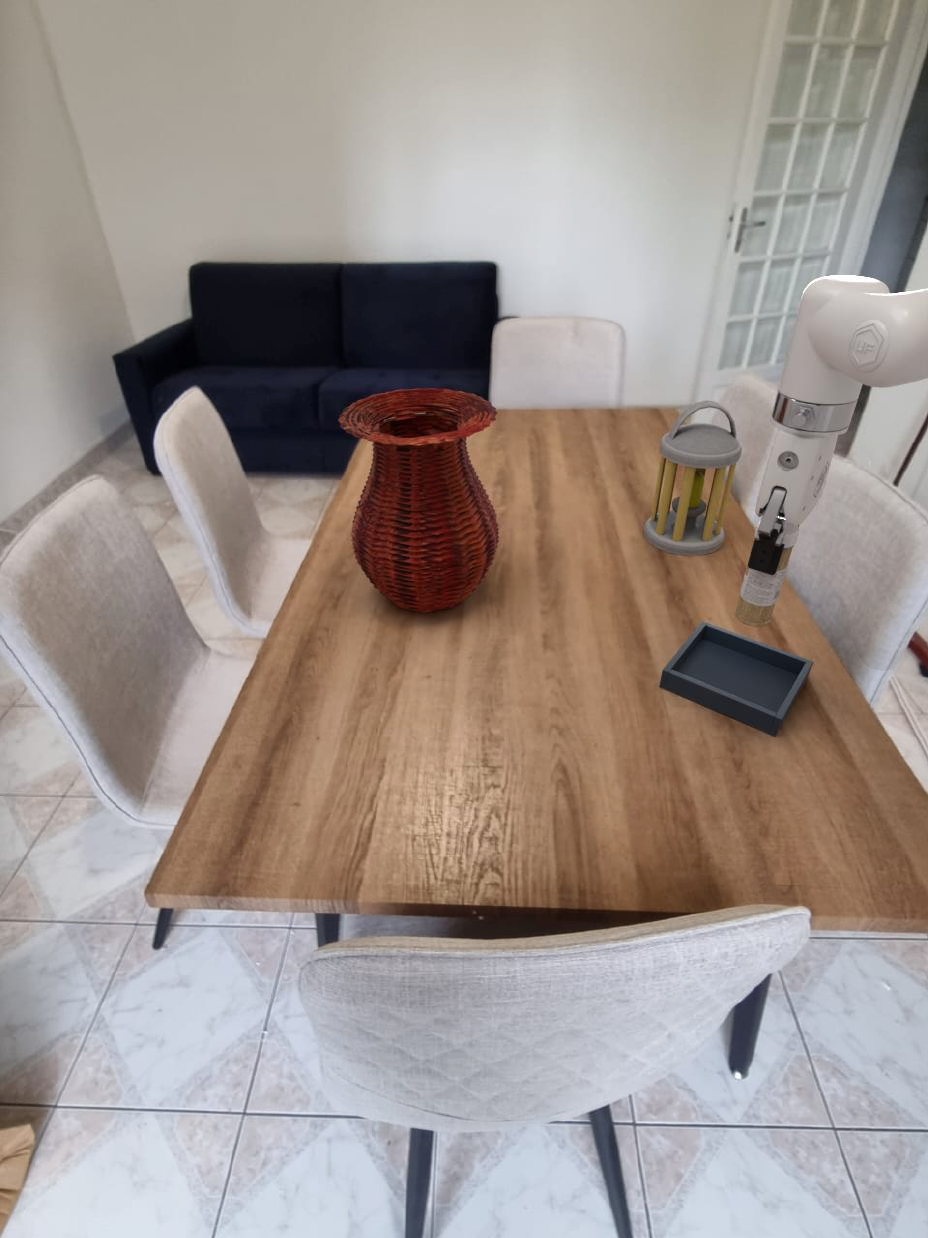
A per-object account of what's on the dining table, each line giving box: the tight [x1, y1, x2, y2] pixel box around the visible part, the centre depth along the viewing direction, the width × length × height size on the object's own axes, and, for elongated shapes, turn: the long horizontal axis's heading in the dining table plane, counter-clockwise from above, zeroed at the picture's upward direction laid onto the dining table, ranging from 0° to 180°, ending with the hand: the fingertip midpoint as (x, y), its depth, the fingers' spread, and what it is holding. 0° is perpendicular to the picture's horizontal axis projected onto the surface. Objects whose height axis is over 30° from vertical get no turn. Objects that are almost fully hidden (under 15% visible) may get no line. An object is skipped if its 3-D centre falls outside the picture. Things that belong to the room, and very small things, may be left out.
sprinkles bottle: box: [733, 519, 800, 628], centre depth 82 cm, size 5×5×14 cm
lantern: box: [643, 399, 743, 557], centre depth 117 cm, size 14×14×25 cm
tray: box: [659, 620, 814, 737], centre depth 92 cm, size 16×14×3 cm
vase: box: [337, 387, 500, 613], centre depth 104 cm, size 23×24×30 cm
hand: (769, 559), depth 81 cm, fingers closed on sprinkles bottle, 4 cm apart
